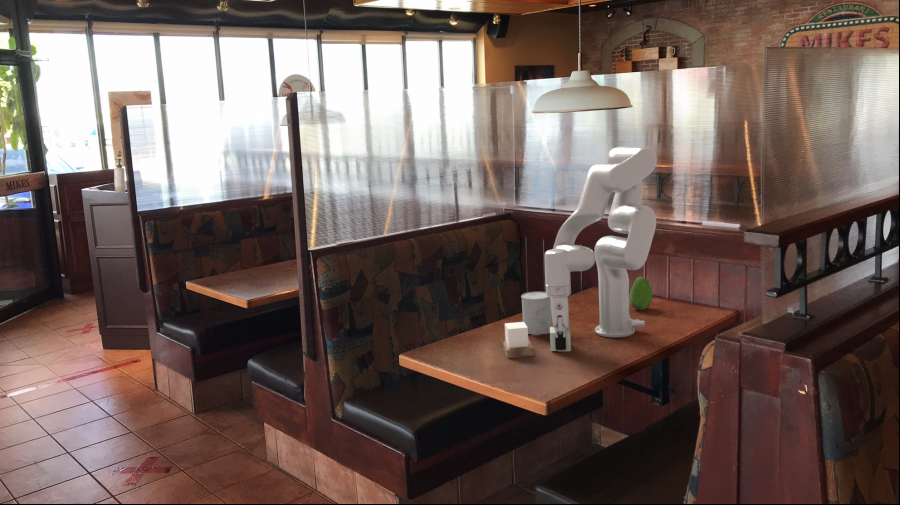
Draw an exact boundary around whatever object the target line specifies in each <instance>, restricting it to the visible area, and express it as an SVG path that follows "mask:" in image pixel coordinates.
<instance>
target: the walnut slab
mask: <svg viewBox="0 0 900 505" xmlns="http://www.w3.org/2000/svg"><path fill="white" fill-rule="evenodd" d="M502 343H503V346H502V347H503V352H504V351H505V352H504V354H505V356H506V358H507V359H510V358H511V359H512V358H514V359H515V358H525V357H534V356H535V354H534V353H535V352H534V347H533V345H532V342H531V340H530V339H529V338H528V347H517V348H509V347H508V346H507V344H506V341H503V342H502Z"/></svg>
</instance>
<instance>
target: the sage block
mask: <svg viewBox="0 0 900 505" xmlns="http://www.w3.org/2000/svg"><path fill="white" fill-rule="evenodd" d="M564 327H565V326H564ZM557 331H558V330H557ZM562 331H563V329H562ZM555 337H556V329H555V328H553V326H551V327H550V333H549V339H550V352H551V351H558V352H571V351H572V347H571V346H572V345H571V329H570V327H569V328H567V327H565V337H566V350H556V348H555Z"/></svg>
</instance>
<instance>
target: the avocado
mask: <svg viewBox="0 0 900 505" xmlns="http://www.w3.org/2000/svg"><path fill="white" fill-rule="evenodd" d="M649 282H650V281H649V280H648V279H647V278H645V277H644V276H639V277H637V278H636V279H635V280H634V282H633V283H632V284H633V285H632V286H631V289H630V290H629V304H630V305H631V306H632V307H633V308H634V309H636V310H639V311H643V310H646V309H648V308H649V307H650V306H651V304H652V301H653V297H654V296H653V290H652V288H651V285H650V283H649Z"/></svg>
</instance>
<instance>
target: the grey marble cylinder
mask: <svg viewBox="0 0 900 505" xmlns="http://www.w3.org/2000/svg"><path fill="white" fill-rule="evenodd" d="M520 298H521V305H522V306H521V309H522V311H521V312H522V322H524V323H525V324H526V326H527V327H528V334H532V335H531V336H540V335H539V334H545V335H548V334H550V333H549V332H550V327H552V316H551V305H550V297H549V296H547V295H546V291H528V292H524V293H523V294H521V296H520ZM547 333H548V334H547Z"/></svg>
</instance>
